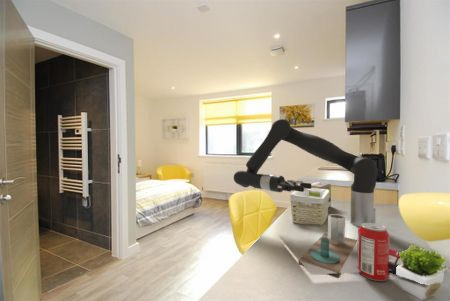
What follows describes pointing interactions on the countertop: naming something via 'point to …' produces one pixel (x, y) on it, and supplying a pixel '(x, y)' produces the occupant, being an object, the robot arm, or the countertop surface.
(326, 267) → the jig board
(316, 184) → the tea box
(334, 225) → the sleeve
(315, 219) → the storage basket
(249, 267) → the countertop surface
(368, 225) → the soda can
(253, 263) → the countertop surface
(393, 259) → the calculator
